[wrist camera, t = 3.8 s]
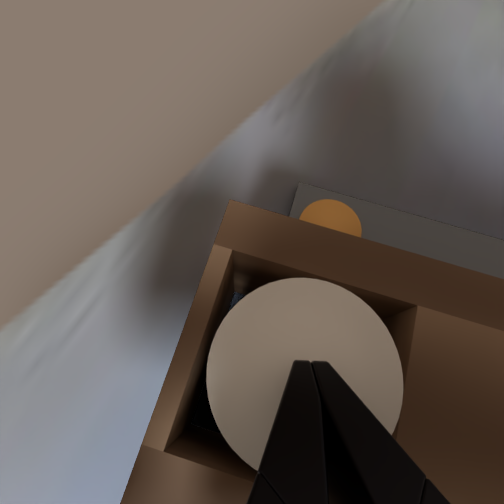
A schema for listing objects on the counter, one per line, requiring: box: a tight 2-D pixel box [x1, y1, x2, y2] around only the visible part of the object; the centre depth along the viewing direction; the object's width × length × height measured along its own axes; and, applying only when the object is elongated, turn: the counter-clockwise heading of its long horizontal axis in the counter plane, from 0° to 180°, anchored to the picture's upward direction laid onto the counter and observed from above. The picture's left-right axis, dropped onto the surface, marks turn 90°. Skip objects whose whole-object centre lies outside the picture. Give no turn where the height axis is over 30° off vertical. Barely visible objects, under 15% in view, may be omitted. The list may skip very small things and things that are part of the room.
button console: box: [120, 200, 504, 504], centre depth 13 cm, size 9×21×6 cm, turn 73°
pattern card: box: [289, 182, 504, 279], centre depth 18 cm, size 4×17×1 cm, turn 73°
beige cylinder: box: [206, 278, 403, 471], centre depth 12 cm, size 5×5×6 cm
